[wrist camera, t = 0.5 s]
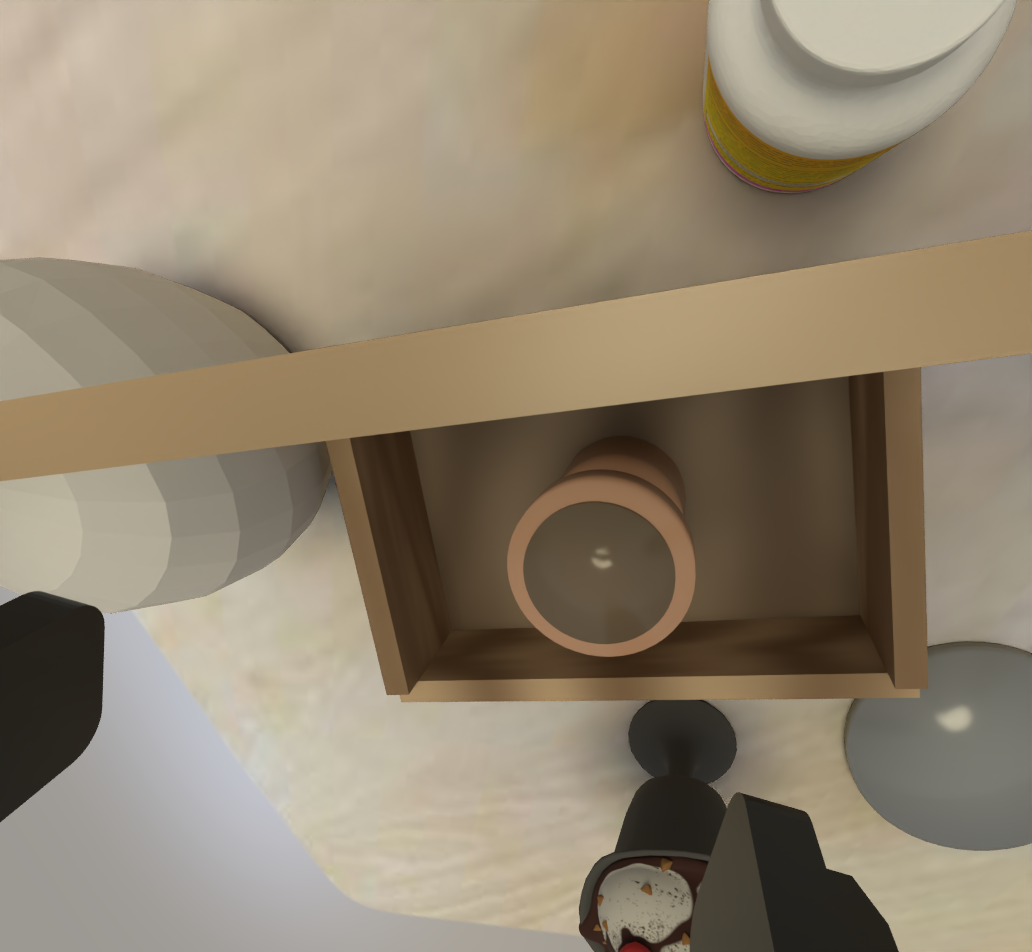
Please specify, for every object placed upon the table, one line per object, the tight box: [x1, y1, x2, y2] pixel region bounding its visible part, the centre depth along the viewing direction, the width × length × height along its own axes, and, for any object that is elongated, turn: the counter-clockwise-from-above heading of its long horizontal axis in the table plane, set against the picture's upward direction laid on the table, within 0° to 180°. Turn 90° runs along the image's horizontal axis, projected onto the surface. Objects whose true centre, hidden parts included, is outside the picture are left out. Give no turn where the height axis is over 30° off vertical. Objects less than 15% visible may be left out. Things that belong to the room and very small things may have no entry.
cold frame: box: [326, 367, 928, 702], centre depth 27 cm, size 20×14×8 cm
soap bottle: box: [0, 257, 332, 613], centre depth 21 cm, size 14×9×26 cm, turn 46°
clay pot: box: [507, 436, 696, 657], centre depth 26 cm, size 6×6×8 cm
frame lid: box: [0, 230, 1032, 481], centre depth 14 cm, size 20×14×1 cm
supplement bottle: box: [703, 0, 1017, 193], centre depth 19 cm, size 7×7×13 cm
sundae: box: [579, 700, 737, 952], centre depth 26 cm, size 7×7×15 cm
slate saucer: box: [844, 642, 1032, 851], centre depth 29 cm, size 10×10×1 cm
